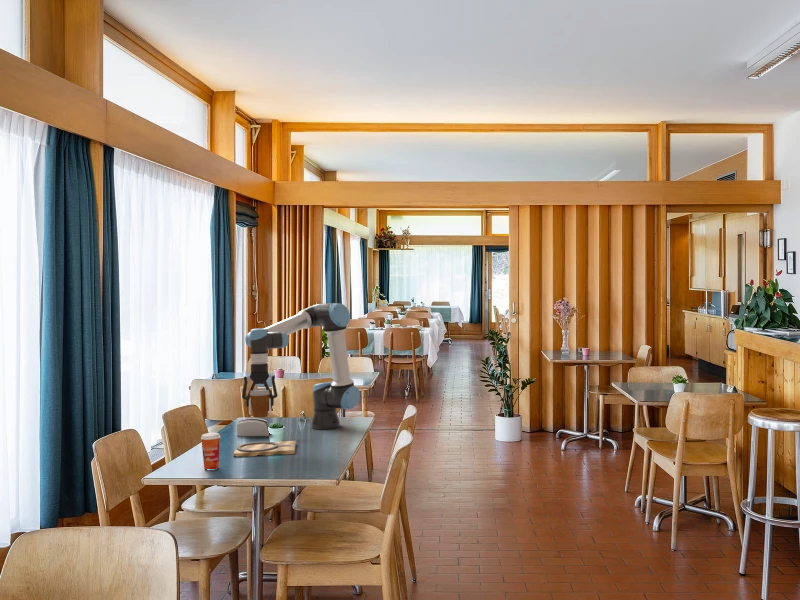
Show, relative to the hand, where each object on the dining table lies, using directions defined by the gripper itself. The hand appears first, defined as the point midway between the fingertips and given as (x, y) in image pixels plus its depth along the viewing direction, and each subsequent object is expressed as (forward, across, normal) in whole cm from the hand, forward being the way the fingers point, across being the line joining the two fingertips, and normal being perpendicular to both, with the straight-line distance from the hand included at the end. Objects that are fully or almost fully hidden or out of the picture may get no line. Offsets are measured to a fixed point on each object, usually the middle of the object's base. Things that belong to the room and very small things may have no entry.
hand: (260, 413), depth 311 cm
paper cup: (+17, -17, -30) cm, 39 cm away
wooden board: (+16, +2, -2) cm, 16 cm away
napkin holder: (+16, -6, +35) cm, 39 cm away
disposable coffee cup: (+1, 0, 0) cm, 1 cm away
